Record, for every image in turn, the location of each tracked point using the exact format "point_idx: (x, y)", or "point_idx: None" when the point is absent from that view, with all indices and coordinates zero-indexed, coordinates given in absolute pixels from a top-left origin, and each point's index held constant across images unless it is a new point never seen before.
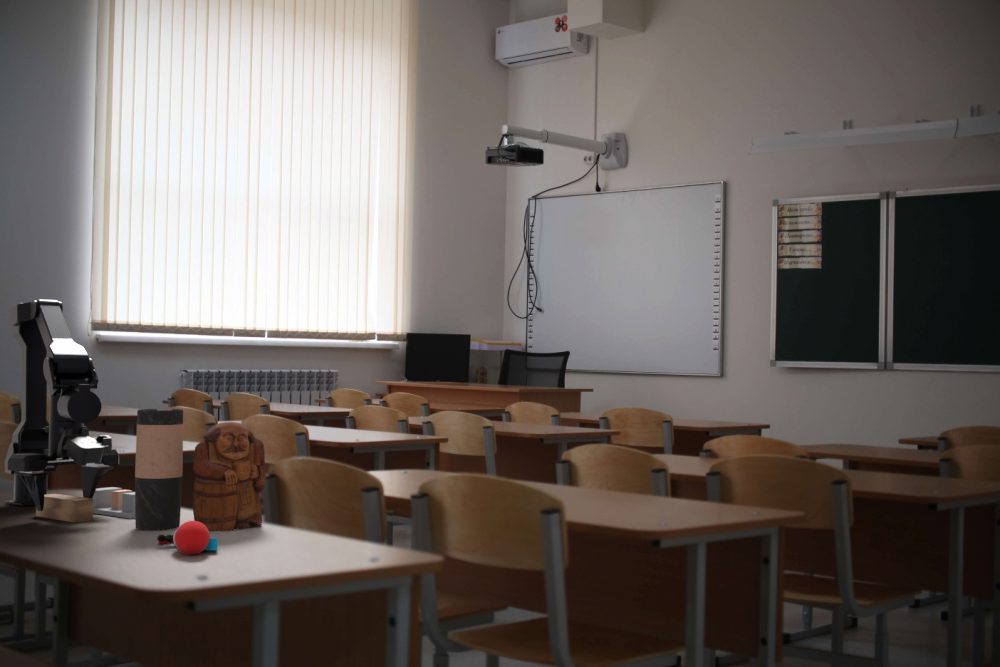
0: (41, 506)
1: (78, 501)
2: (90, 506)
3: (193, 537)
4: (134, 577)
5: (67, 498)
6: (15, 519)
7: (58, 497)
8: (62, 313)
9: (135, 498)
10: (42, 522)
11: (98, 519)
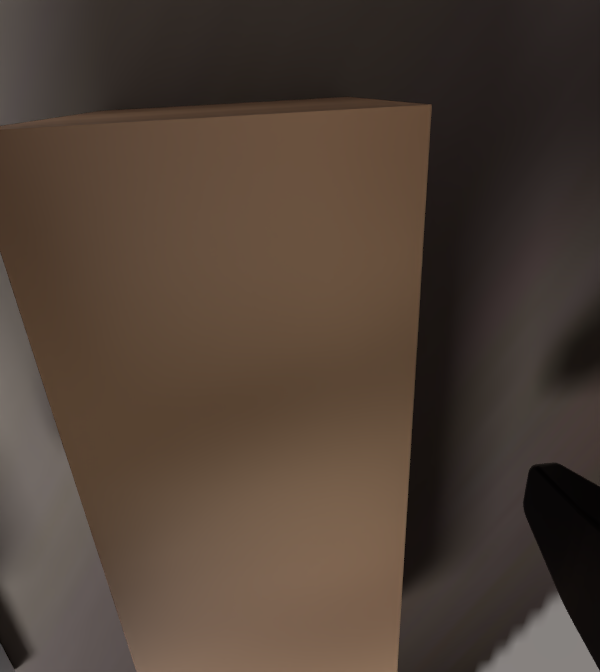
0: (589, 484)
1: (350, 112)
2: (89, 118)
3: None
4: None
5: (329, 487)
6: (524, 585)
7: (348, 628)
8: None
9: None
10: (532, 341)
11: (24, 98)
